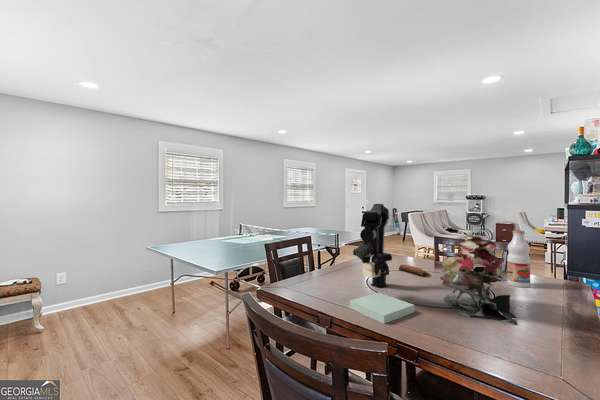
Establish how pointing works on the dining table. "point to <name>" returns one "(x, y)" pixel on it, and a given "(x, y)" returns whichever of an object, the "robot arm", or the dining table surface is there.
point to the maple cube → (369, 270)
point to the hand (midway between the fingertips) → (371, 273)
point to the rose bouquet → (476, 279)
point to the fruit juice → (518, 261)
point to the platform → (382, 307)
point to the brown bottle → (414, 270)
